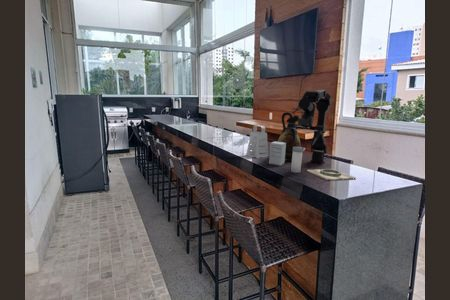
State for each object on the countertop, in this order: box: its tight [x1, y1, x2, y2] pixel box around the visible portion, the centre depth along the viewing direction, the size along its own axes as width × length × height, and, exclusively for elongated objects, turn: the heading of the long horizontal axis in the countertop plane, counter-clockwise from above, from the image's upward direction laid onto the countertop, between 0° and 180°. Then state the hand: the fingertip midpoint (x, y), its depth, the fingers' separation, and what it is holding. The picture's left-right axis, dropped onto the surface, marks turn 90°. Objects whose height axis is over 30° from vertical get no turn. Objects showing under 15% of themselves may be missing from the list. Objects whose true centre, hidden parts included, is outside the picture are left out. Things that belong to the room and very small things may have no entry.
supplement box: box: [268, 140, 286, 166], centre depth 161 cm, size 7×7×13 cm
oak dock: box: [306, 168, 356, 182], centre depth 142 cm, size 17×17×2 cm
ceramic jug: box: [276, 111, 302, 161], centre depth 175 cm, size 17×15×30 cm
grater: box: [245, 124, 269, 159], centre depth 180 cm, size 10×10×20 cm
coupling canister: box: [290, 146, 304, 174], centre depth 145 cm, size 5×5×13 cm
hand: (303, 144), depth 141 cm, fingers open, 9 cm apart
